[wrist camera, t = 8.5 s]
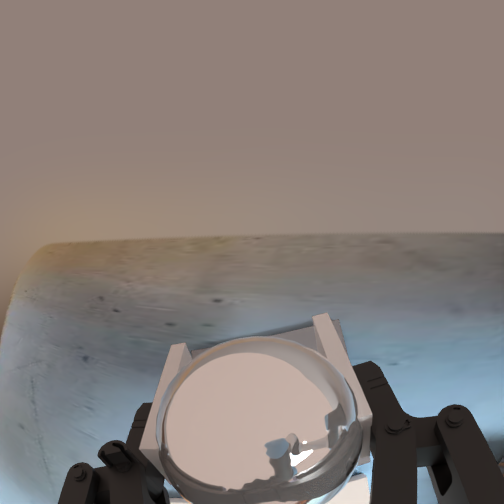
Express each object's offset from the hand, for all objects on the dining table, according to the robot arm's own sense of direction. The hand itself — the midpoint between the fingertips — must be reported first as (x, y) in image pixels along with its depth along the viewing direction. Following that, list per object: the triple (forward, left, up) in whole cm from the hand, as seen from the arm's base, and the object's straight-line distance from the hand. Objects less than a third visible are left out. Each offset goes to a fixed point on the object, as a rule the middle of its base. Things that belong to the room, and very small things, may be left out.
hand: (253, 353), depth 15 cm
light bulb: (0, +4, -4) cm, 6 cm away
